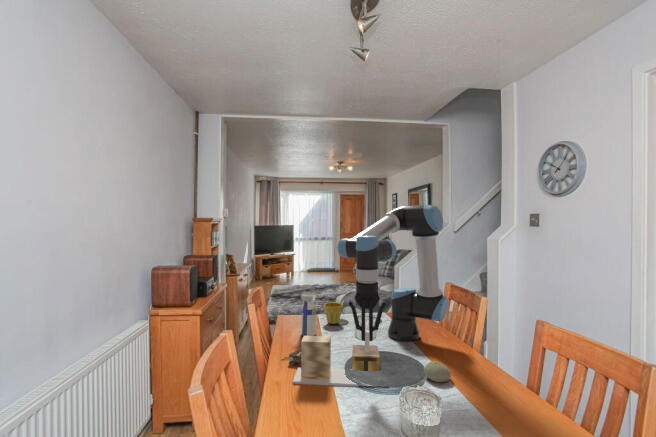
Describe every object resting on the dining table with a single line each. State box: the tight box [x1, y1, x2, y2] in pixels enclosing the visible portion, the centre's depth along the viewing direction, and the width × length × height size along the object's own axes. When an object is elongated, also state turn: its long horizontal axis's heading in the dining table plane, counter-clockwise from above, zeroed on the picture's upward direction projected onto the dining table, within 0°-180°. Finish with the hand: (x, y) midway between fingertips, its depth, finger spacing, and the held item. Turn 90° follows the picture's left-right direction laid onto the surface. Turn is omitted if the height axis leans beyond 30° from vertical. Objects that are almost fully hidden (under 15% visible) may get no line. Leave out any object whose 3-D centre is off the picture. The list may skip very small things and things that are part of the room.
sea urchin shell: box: [423, 360, 452, 383], centre depth 119 cm, size 9×8×8 cm
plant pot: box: [323, 301, 344, 325], centre depth 185 cm, size 10×10×10 cm
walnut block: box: [351, 344, 381, 371], centre depth 128 cm, size 10×6×13 cm
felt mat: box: [292, 366, 359, 387], centre depth 119 cm, size 33×11×1 cm, turn 85°
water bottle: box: [300, 284, 318, 337], centre depth 166 cm, size 8×8×25 cm
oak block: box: [300, 335, 332, 379], centre depth 120 cm, size 10×6×13 cm, turn 85°
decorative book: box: [280, 346, 301, 367], centre depth 133 cm, size 13×18×5 cm
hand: (367, 350), depth 113 cm, fingers closed
